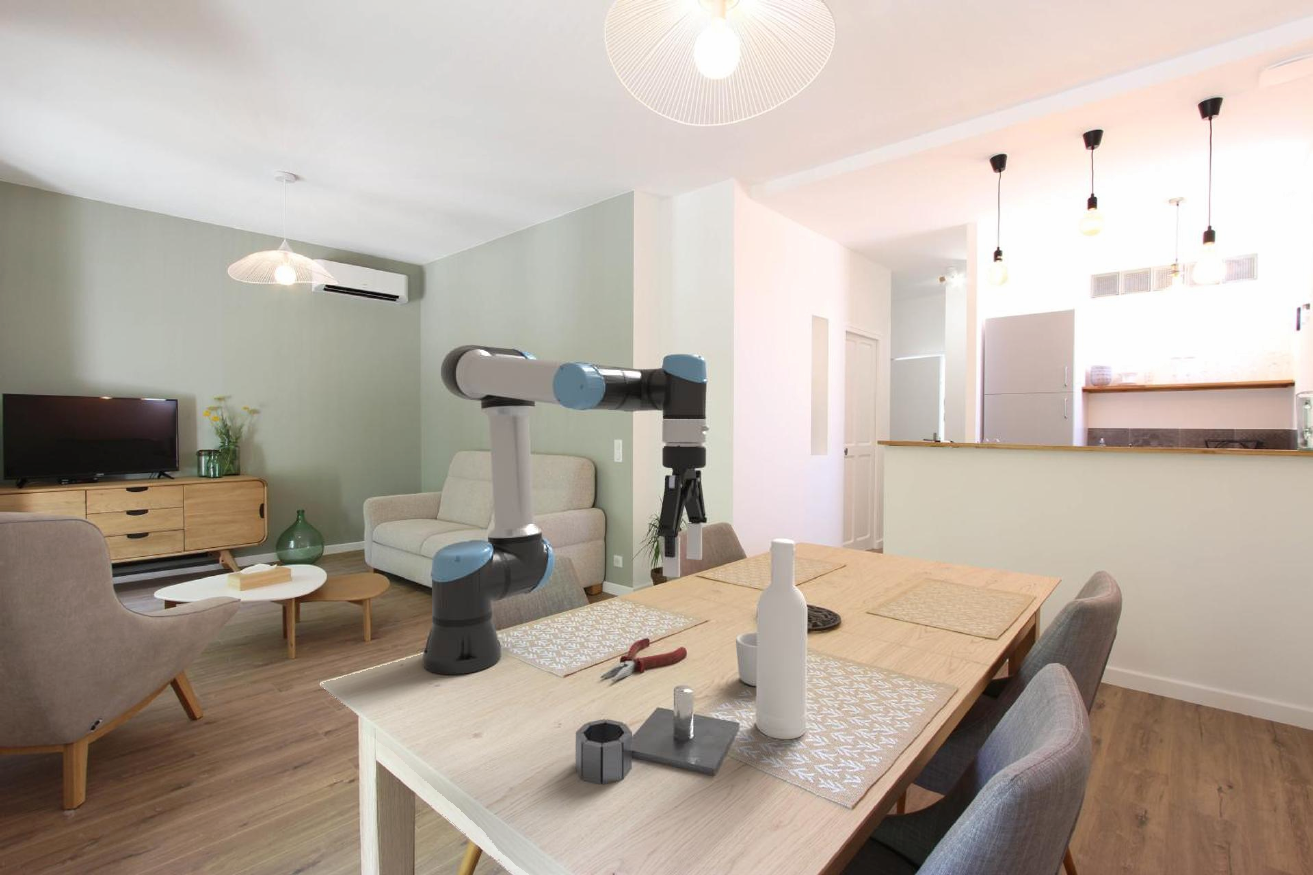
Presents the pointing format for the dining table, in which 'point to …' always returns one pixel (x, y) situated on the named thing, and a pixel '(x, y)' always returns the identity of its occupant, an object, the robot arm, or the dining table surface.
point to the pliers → (643, 660)
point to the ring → (603, 751)
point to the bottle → (781, 649)
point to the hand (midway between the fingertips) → (683, 567)
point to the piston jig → (684, 736)
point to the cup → (747, 657)
